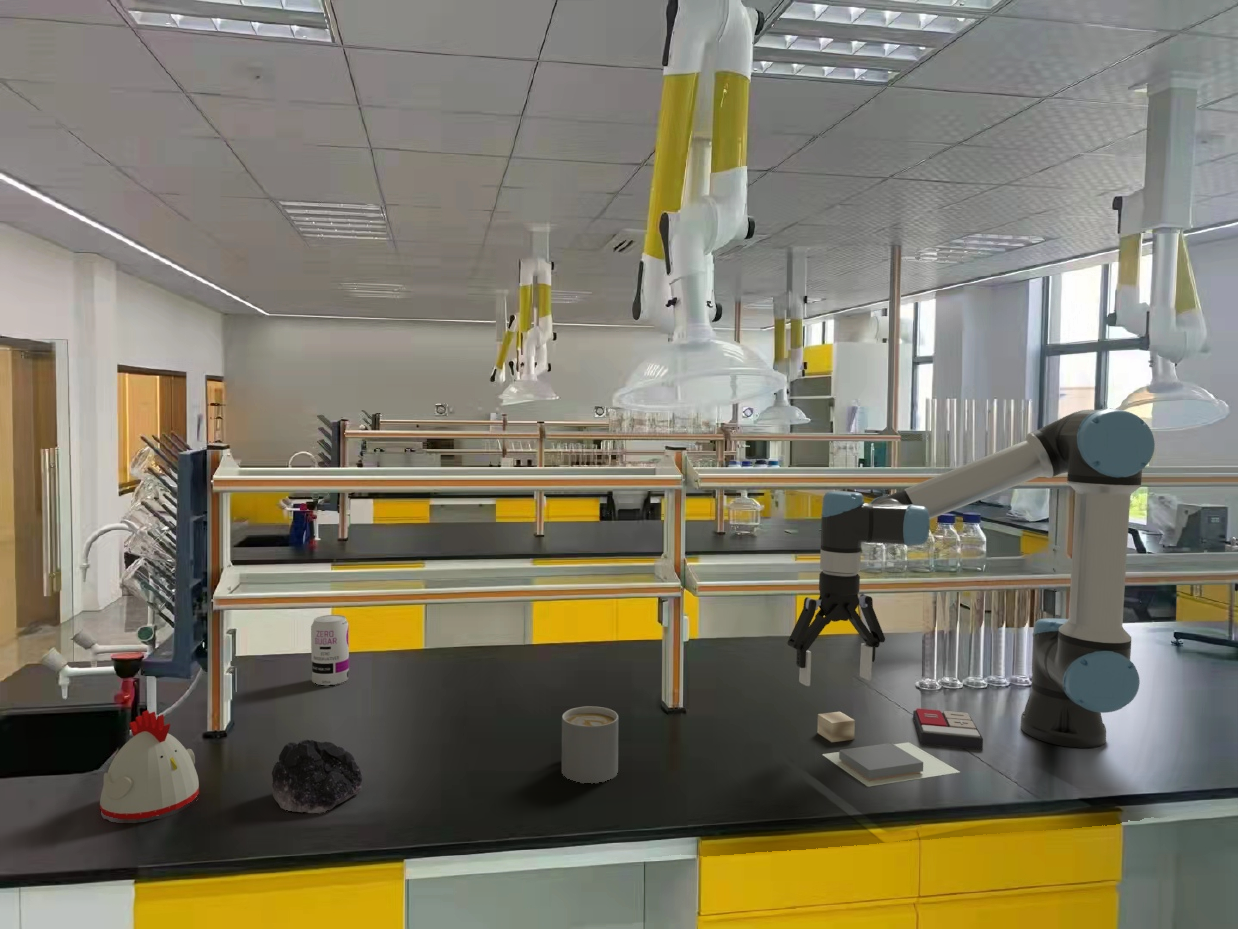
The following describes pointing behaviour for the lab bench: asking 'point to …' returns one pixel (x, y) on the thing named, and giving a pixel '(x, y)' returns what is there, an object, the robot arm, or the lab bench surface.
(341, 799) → the crystal cluster
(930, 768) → the board
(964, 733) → the calculator
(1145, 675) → the lab bench surface
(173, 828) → the lab bench surface
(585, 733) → the coffee mug
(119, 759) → the white chicken figure
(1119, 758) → the lab bench surface
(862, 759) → the tile
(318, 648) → the supplement can
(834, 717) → the block
